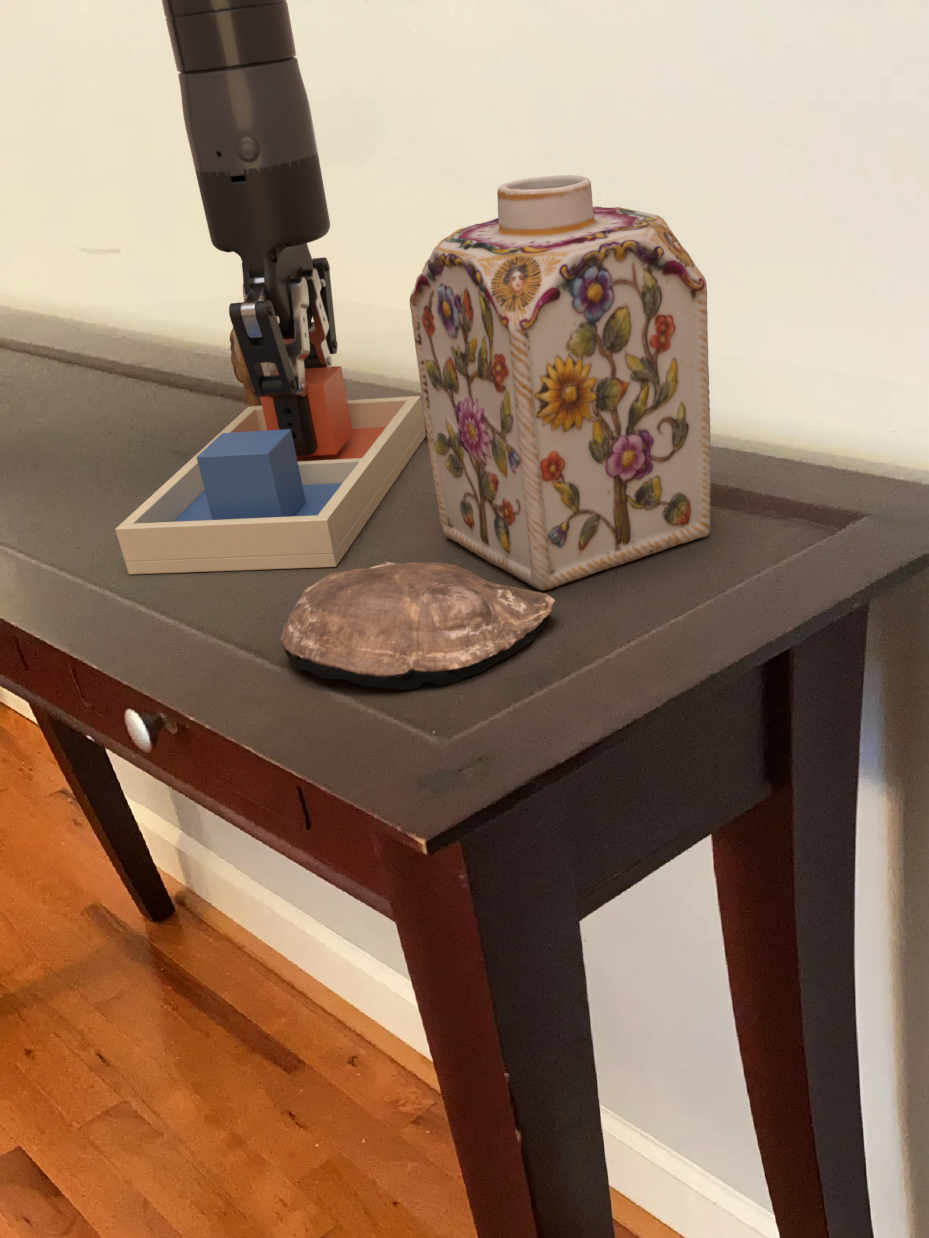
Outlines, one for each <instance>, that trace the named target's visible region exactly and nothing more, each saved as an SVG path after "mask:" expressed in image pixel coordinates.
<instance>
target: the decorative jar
mask: <svg viewBox="0 0 929 1238" xmlns="http://www.w3.org/2000/svg"><path fill="white" fill-rule="evenodd" d="M409 309H410V314H411V324H412V330H413V332H412V333H413V339H414V348H415V354H416V361H417V369H418V375H419V385H420V392H421V399H422V407H423V417H424V424H425V431H426V437H427V438H426V439H427V445H428V451H429V458H430V465H431V469H432V478H433V483H434V490H435V492H434V493H435V495H436V501H437V509H438V514H439V521H440V525H441V529H442V533H443V535H444V536H445V537H446V538H447V539H450V540H451V541H453V542H454V543H456V544H458V545H460V546H461V547H462V548H465V550H468V551H469V552H471V553H473V554H475V555H477V556H478V557H479V558H481V559H483V560H485V561H486V562H488V563H490V564H491V565H494V566H495V567H497V568H499V569H500V570H503V571H505V572H507V573H508V574H510V575H512V576H514V577H515V578H517V579H519V580H521V582H524V583H526V584H527V585H529V586H531V587H533V588H534V589H536V590H538V591H540V592H541V591H542V592H545V591H549V590H552V589H554V588H557V587H560V586H562V585H566V584H568V583H571V582H574V581H578V580H580V579H583V578H586V577H588V576H591V575H594V574H596V573H598V572H602V571H606V570H609V569H611V568H615V567H618V566H621V565H622V566H623V565H624V564H629V563H630V562H634V561H636V560H639V559H642V558H645V557H647V556H650V555H653V554H657V553H659V552H662V551H665V550H668V549H671V548H672V547H676V546H679V545H683V544H687V543H690V542H693V541H695V540H698V539H702V538H706V537H707V536H709V534H710V533H711V493H712V492H711V491H712V488H711V487H712V485H711V480H712V479H711V474H712V473H711V472H712V470H711V465H712V463H711V457H712V456H711V428H712V427H711V407H710V406H711V405H710V404H711V401H710V400H711V399H710V394H711V393H710V369H709V333H708V332H709V331H708V322H709V321H708V284H707V280H706V277H705V276H704V274H703V273H702V272H701V271H700V269H699V267H698V266H697V265H696V263H695V262H694V260H693V259H692V257H691V255H690V254H689V252H688V251H687V250H686V249H685V248H684V247H683V245H682V244H681V243H680V241H679V240H678V238H677V236H676V235H675V234H674V232H673V231H672V229H671V228H670V226H669V225H668V223H667V221H666V220H665V219H664V217H662V216H660V215H658V214H653V213H649V212H644V211H640V210H639V211H638V210H633V209H629V208H625V207H621V206H616V207H613V206H612V207H604V206H603V207H602V206H596V205H595V206H594V205H593V191H592V181H591V180H590V178H588V177H586V176H583V175H575V174H572V175H570V174H562V175H561V174H560V175H548V176H537V177H536V176H535V177H534V176H533V177H528V178H527V177H526V178H521V179H516V180H512V181H508V182H505V183H503V184H501V185H500V186H498V187H497V218H493V219H491V220H488V221H484V222H481V223H475V224H473V225H467V226H466V227H461V228H458V229H457V230H455V231H453V233H451V234H450V235H448V236H446V237H444V238H443V239H441V240H440V241H439V242H438V244H437V245H436V246H435V247H434V248H433V250H432V252H431V254H430V256H429V258H428V259H427V260H426V261H425V263H424V266H423V268H422V271H421V273H420V274H419V275H418V276H417V277H416V281H415V284H414V287H413V289H412V291H411V293H410V296H409Z"/></svg>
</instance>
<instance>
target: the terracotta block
mask: <svg viewBox="0 0 929 1238" xmlns="http://www.w3.org/2000/svg"><path fill="white" fill-rule="evenodd" d="M276 374H277V375H279V373H278V372H277V373H276ZM305 378H306V385H307V391H306V395H308V399H309V404H310V409H311V414H312V419H313V424H314V430H315V435H316V440H317V445H318V447H317V450H316V451H315V452H314V453H313V454H312V455H310V456H318V455H336V454H337V453H338V451H339V450H340V449H341V448H342V447H343V445H344V444H345V443H346V442H347V441H348V439H349V438H350V437H351V436H352V434H353V429H352V423H351V418H350V412H349V407H348V401H347V400H348V397H347V396H348V395H347V391H346V385H345V384H346V383H345V379H344V375H343V370H342V366H341V365H337V366H332V367H321V368H306V369H305ZM260 401H261V405H262V408H263V413H264V417H265V422H266V427H267V430H279V426H278V421H277V417H276V412H275V407H274V403H273V399H268V398H267V396H266V397H260ZM296 457H300V456H296Z"/></svg>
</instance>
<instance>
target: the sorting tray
mask: <svg viewBox="0 0 929 1238" xmlns="http://www.w3.org/2000/svg"><path fill="white" fill-rule="evenodd" d="M347 401H348V407H349V412H350V418H351V423H352V429H353V434H352V436H351V437H350V438H349V439H348V441H347V442H346V443H345V444H344V445H343V447H342V448H341V449H340V450H339V451H338V453H337V454H336V455H318V456H300V457H297V461H298V466H299V471H300V476H301V481H302V486H303V490H304V495H305V500H306V502H305V503H304V505H303V506H302V507H301V508H300V510H299V511H298V512H297V513H296V515H295V516H293V517H270V518H248V519H225V520H212V516H211V512H210V508H209V504H208V501H207V497H206V493H205V489H204V485H203V481H202V477H201V473H200V469H199V465H198V461H197V456H198V455H199V454H200V453H201V452H202V451H204V450H205V449H206V448H207V447H208V446H209V445H210V444H211V443H212V442H213V441H214V440H215V439H217V438H218V437H219V436H220V435H221V434H222V433H233V432H250V431H267V427H266V422H265V417H264V413H263V408H262V406H249V405H248V406H247V407H246V408H245V409H244V410H243V411H241V413H240V414H239V415H237V416H236V417H235V418H234V419H233V420H232V421H231V422H230V423H228V424H227V426H226V427H224V428H223V429H222V430H221V431H220V432H219V433H218V434H217V435H216V436H214V438H212V439H211V440H210V441H209V442H208V443H207V444H206V445H205V446H204V447H203V448H201V450H199V452H197V453H196V454H195V455H194V456H193V457H192V458H191V459H190V460H188V461H187V463H185V464H184V465H183V466H182V467H181V468H180V469H178V471H176V473H174V474H173V475H172V476H171V477H170V478H169V479H168V480H167V481H165V483H164V484H163V485H161V486H160V487H159V488H158V489H157V490H156V491H155V492H153V493H152V495H150V497H148V498H147V499H146V500H145V501H144V502H143V503H142V504H141V505H139V506H138V507H137V508H136V509H135V510H134V511H133V512H132V513H131V514H129V515H128V516H127V518H126V519H124V520H123V521H122V522H121V523H119V525H118V526H117V527H115V533H116V536H117V540H118V543H119V547H120V551H121V553H122V557H123V559H124V562H125V566H126V570H127V573H128V575H151V574H178V573H179V574H181V573H207V572H230V571H231V572H233V571H235V572H236V571H257V570H258V571H260V570H261V571H262V570H264V571H265V570H289V569H315V568H317V569H318V568H336V567H338V565H339V563H340V562H341V560H342V559H343V558H344V556H345V555H346V553H347V552H348V551H349V549H350V547H351V546H352V544H353V543H354V542H355V540H356V539H357V537H358V536H359V534H360V533H361V531H362V530H363V529H364V527H365V525H366V524H367V522H368V521H369V520H370V518H372V516H373V514H374V513H375V512H376V509H377V508H378V507H379V505H380V504H381V502H382V501H383V499H384V498H385V497H386V495H387V493H388V492H389V491H390V489H391V488H392V486H393V485H394V483H395V482H396V480H397V479H398V477H399V476H400V475H401V473H402V471H403V470H404V469H405V467H406V466H407V465H408V463H409V461H410V460H411V459H412V457H413V456H414V454H416V453H415V452H416V451H417V450H418V449H419V447H420V446H421V444H422V443H423V441H424V440H425V438H426V437H427V431H426V424H425V417H424V410H423V403H422V396H420V395H412V396H395V397H381V398H364V399H347Z"/></svg>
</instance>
